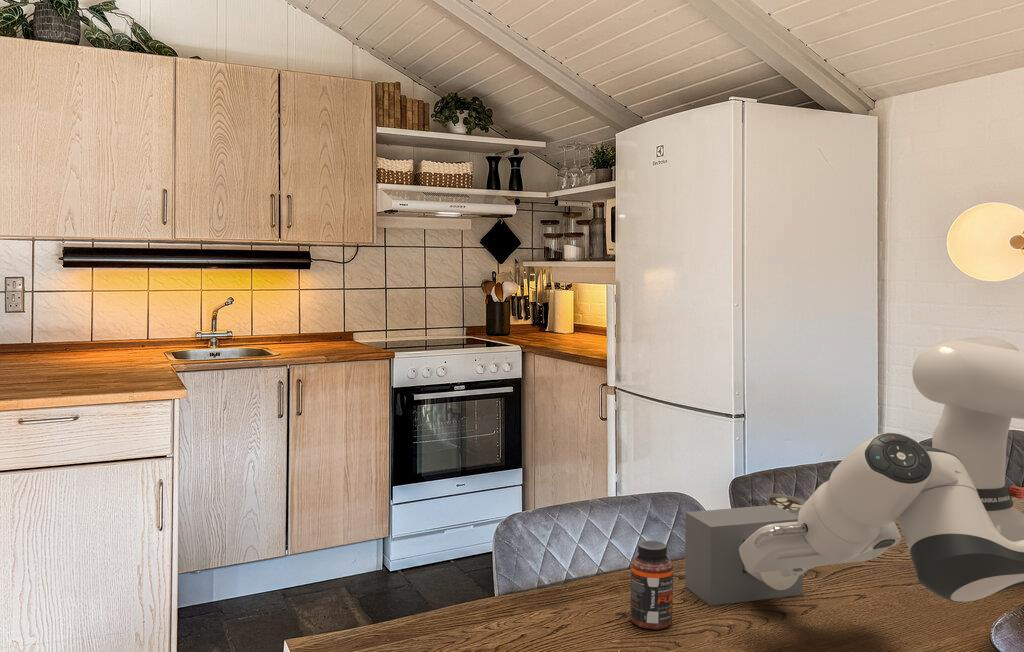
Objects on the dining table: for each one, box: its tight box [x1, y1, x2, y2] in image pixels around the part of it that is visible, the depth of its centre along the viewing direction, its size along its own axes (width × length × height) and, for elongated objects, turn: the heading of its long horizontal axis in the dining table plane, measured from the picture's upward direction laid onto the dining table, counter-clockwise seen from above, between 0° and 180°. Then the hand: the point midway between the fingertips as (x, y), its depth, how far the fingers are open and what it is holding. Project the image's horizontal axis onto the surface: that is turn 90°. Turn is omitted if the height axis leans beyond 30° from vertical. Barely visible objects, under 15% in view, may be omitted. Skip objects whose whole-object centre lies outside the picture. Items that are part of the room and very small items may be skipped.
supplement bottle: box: [630, 540, 674, 631], centre depth 112 cm, size 6×6×11 cm
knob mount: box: [684, 505, 804, 607], centre depth 124 cm, size 16×8×12 cm, turn 105°
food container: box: [767, 493, 806, 516], centre depth 138 cm, size 12×6×10 cm, turn 168°
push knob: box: [743, 539, 799, 590], centre depth 117 cm, size 6×8×6 cm
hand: (789, 571), depth 112 cm, fingers closed
